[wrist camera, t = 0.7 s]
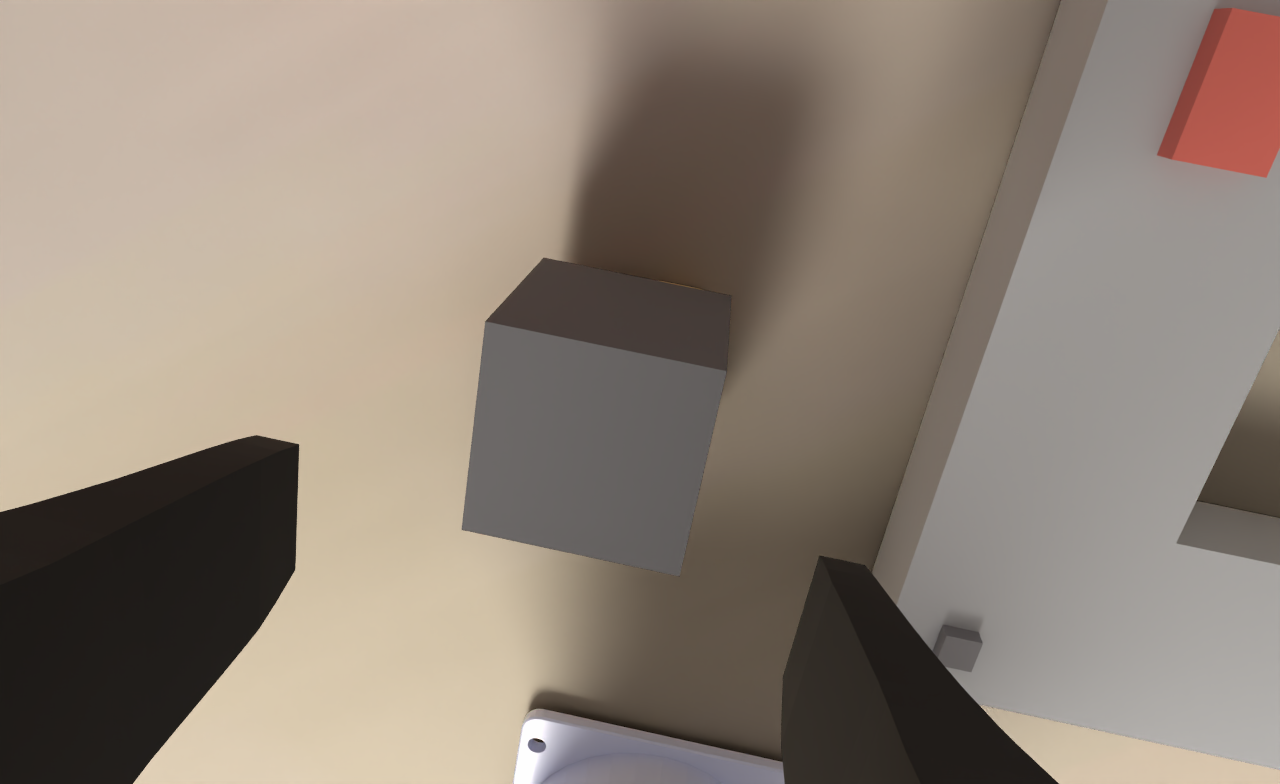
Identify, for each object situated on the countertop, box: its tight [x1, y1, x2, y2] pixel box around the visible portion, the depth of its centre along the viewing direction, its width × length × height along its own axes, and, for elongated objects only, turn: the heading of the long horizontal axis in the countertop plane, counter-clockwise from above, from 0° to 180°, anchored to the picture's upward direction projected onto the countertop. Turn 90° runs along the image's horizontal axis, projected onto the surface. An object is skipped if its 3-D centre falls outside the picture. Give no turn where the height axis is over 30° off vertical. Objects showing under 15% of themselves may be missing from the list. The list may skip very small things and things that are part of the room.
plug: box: [462, 258, 731, 577], centre depth 18 cm, size 4×4×6 cm
